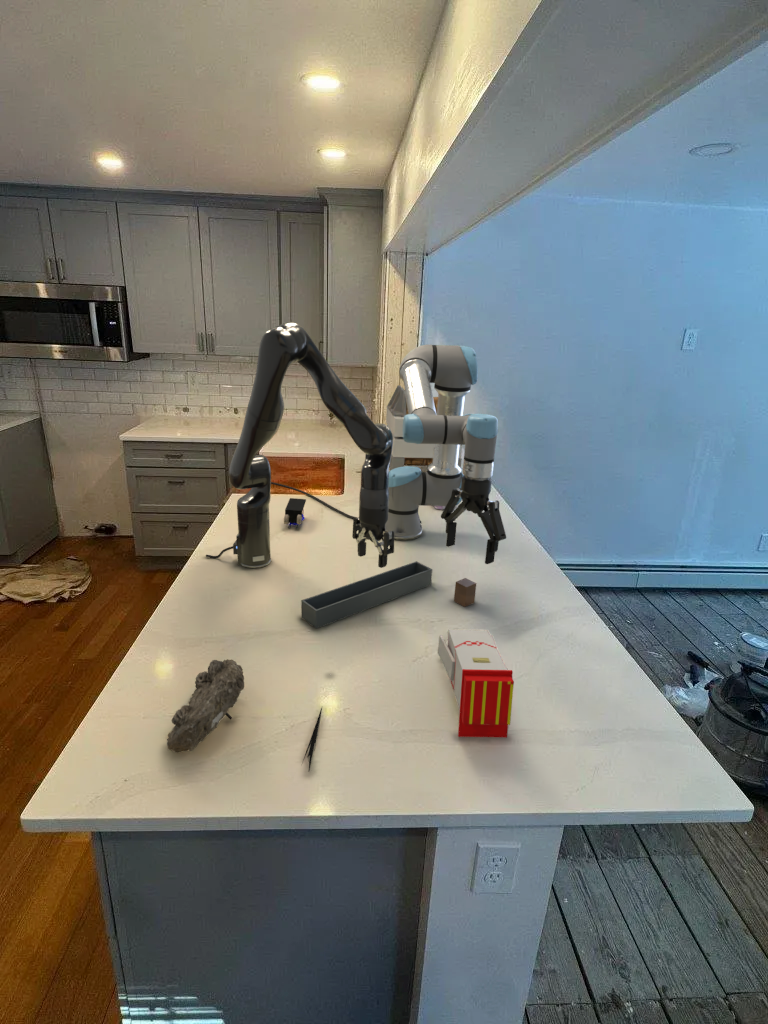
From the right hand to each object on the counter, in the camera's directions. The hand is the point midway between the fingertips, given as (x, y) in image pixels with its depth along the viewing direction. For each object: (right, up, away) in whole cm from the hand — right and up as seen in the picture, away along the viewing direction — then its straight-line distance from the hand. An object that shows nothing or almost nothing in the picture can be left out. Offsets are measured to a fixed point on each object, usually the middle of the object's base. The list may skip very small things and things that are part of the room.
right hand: (469, 553), depth 150 cm
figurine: (+1, +13, +80) cm, 81 cm away
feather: (-35, -29, -41) cm, 61 cm away
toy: (-5, -27, -32) cm, 41 cm away
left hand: (-26, -2, 0) cm, 26 cm away
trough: (-26, -13, +4) cm, 29 cm away
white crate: (-5, +30, +125) cm, 128 cm away
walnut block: (-1, -14, +5) cm, 15 cm away
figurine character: (-55, +7, +55) cm, 78 cm away
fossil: (-55, -28, -42) cm, 75 cm away
